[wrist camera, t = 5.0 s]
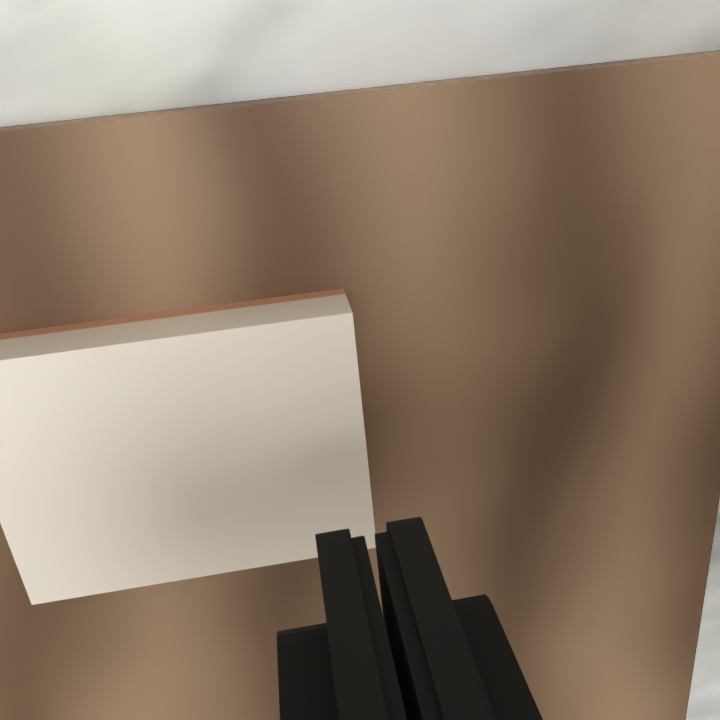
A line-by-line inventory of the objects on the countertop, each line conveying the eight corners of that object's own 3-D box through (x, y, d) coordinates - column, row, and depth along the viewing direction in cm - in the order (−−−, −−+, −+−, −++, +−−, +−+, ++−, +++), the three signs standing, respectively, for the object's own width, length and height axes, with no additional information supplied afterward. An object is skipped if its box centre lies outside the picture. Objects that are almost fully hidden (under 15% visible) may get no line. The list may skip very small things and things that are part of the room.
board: (743, 47, 16) (788, 47, 15) (641, 842, 28) (660, 881, 27) (-379, 168, 14) (-448, 180, 12) (44, 968, 26) (33, 1018, 25)
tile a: (352, 312, 14) (-60, 368, 13) (376, 547, 16) (31, 605, 16) (343, 288, 15) (-29, 337, 15) (366, 507, 18) (50, 558, 17)
